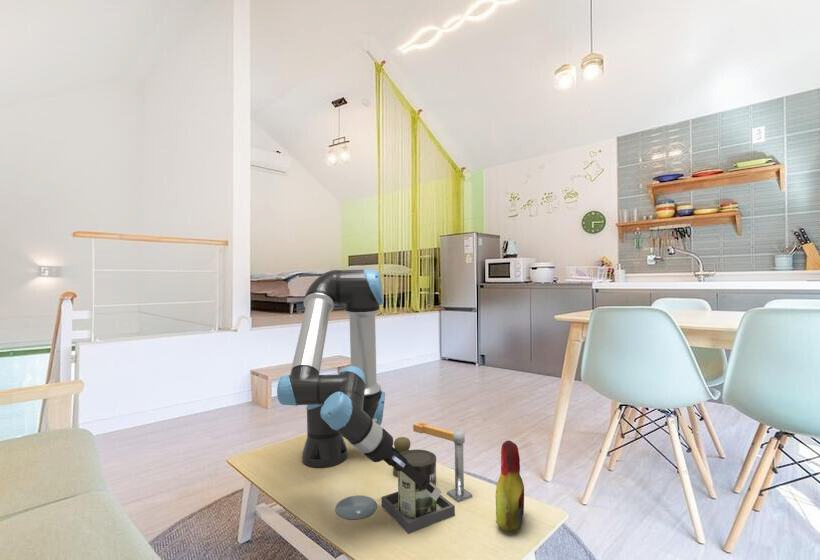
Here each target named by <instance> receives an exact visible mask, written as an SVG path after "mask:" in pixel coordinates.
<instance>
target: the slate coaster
mask: <svg viewBox="0 0 820 560" xmlns="http://www.w3.org/2000/svg"><path fill="white" fill-rule="evenodd" d="M377 508H378V503H377V501H376V500H375V499H374V498H372V497H370V496H367V495H352V496H348V497H346V498H343V499H341V500H340V501H339V502H337V504H336V505H335V512H336V513H335V514H336V515H337V516H338V517H340V518H342V519H346V520H351V521H352V520H353V521H354V520H362V519H365V518H368V517H369V516H372V515H373V514H375V512H376V511H377Z"/></svg>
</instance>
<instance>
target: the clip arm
mask: <svg viewBox="0 0 820 560" xmlns="http://www.w3.org/2000/svg"><path fill="white" fill-rule="evenodd" d="M412 426H413V427H412V428H413V432H415V433H418V434H425V435H429V436H433V437H435V438H440V439H444V440H446V441H450V442H453V444H455V443H456V444H462V443H463V444H465V441H466V440H465V439H466V437H465V436H466V435H465V431H463V430H461V429H459V430H458V429H457V430H456V429H455V430H454V431H452V430H449V429H445V428H443V427H442V428H441V427H437V426H434V425H431V424H429V423H426V422H422V421H418V422H416V423H413V425H412Z"/></svg>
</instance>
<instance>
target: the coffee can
mask: <svg viewBox="0 0 820 560" xmlns="http://www.w3.org/2000/svg"><path fill="white" fill-rule="evenodd" d="M400 454H401V455H402V456H403V457H405V458H406V459H407V462H408V463H409V464H411V465H412V466H413V467H414V468H415V469H416V470H418V471H419V472H420V473H421V474H422V475H424V476H425V477H426V478H427V479H429V480H430V481H431V482H432V483H433V484H434V485H435V486H436V487H437V455H436V454H435V453H433V452H432V451H429V450H426V449H409V450H408V451H405V452H402V453H400ZM398 456H399V455H398ZM399 457H400V456H399ZM400 458H401V457H400ZM418 489H419V485H417V484H416V483H415V482H414V481H413V480H411V479H410V478H409V477H408V476H407V475H405V474H404V473H403V472H402V471H398V478H397V492H398V503H397V506H398V508H397V509H398V510H399V511H400V512H401V513H402V514H403V515H404V516H405V517H406V518H407V519H408V520H412V519H415V518H417V517H420V516H423V515H426V514H428V513H431V512H434V511H436V510H438V508H437V504H436V501H435V500H434V499H433V498H432V497H430V496H429V495H428V494H427V493H426V492H425V491H423V490H421V491H420V490H418Z"/></svg>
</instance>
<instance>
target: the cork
mask: <svg viewBox="0 0 820 560" xmlns="http://www.w3.org/2000/svg"><path fill="white" fill-rule="evenodd" d="M393 448H395V449H397V450H398V451H399V453H402V452H405V451H408V450H410V449H411V439H409V438H408V437H405V436H400V437H397V438H395V440H393ZM392 475H393V476H394V477H395V478H397V479H398V471H397V470H396V469H395V468H394V467H393V472H392Z"/></svg>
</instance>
